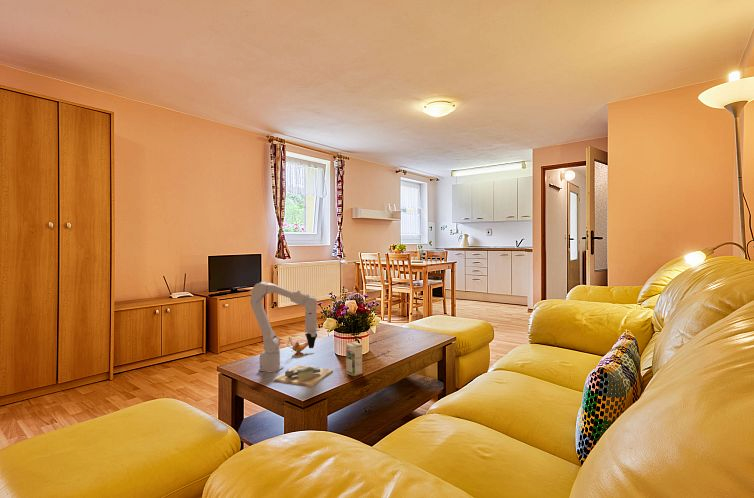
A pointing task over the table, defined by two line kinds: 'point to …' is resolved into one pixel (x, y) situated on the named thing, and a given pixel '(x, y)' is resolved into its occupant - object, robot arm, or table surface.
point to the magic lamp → (298, 347)
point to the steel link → (295, 372)
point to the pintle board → (305, 382)
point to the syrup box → (353, 358)
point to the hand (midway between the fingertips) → (311, 347)
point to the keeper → (305, 372)
